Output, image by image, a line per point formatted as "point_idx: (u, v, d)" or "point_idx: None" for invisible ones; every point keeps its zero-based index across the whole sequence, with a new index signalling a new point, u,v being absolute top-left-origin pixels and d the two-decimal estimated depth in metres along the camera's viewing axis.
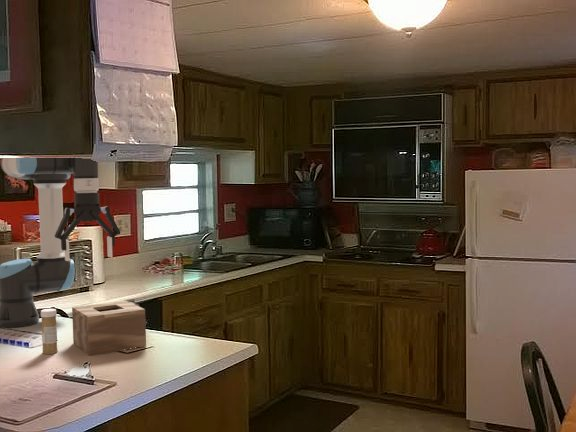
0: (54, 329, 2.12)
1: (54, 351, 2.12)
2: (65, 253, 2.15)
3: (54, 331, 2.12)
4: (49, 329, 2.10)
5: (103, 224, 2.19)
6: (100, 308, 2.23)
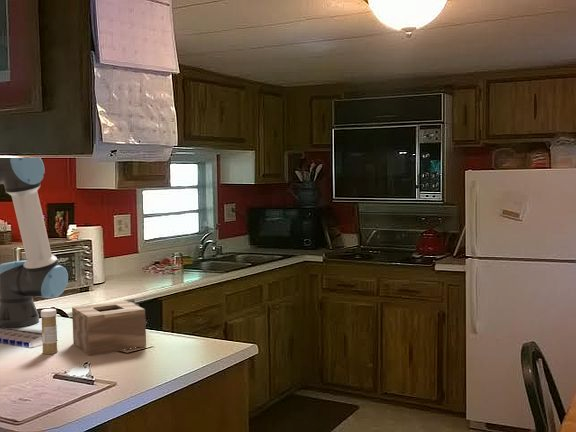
0: (54, 329, 2.12)
1: (54, 351, 2.12)
2: None
3: (54, 331, 2.12)
4: (49, 329, 2.10)
5: None
6: (100, 308, 2.23)
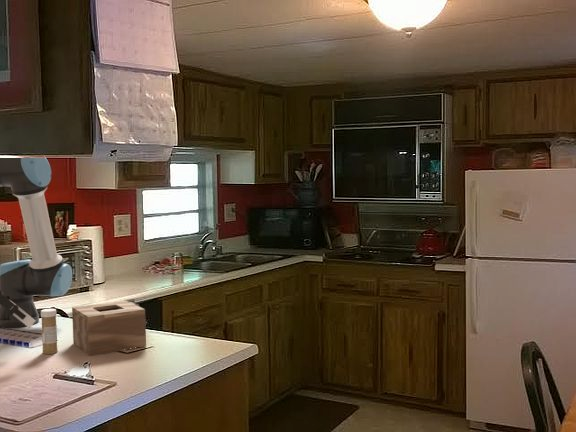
0: (54, 329, 2.12)
1: (54, 351, 2.12)
2: None
3: (54, 331, 2.12)
4: (49, 329, 2.10)
5: None
6: (100, 308, 2.23)
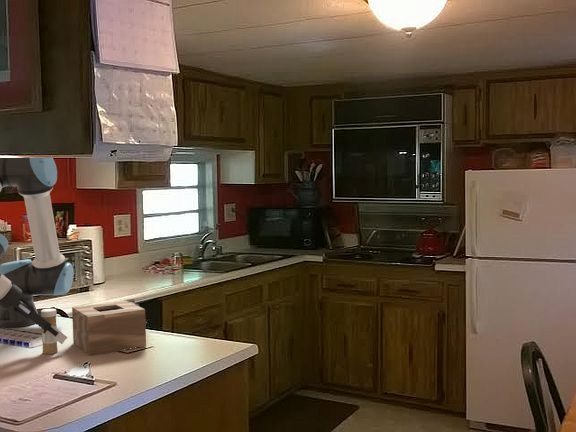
0: None
1: (54, 351, 2.12)
2: None
3: None
4: None
5: None
6: (100, 308, 2.23)
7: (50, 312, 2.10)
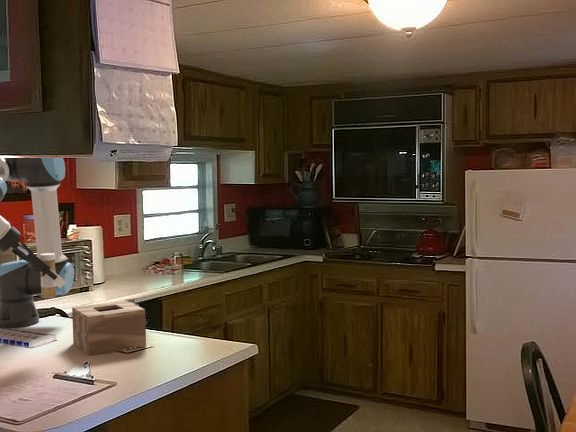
0: None
1: (53, 295, 2.10)
2: None
3: None
4: None
5: (31, 263, 2.06)
6: (100, 308, 2.23)
7: (49, 256, 2.09)
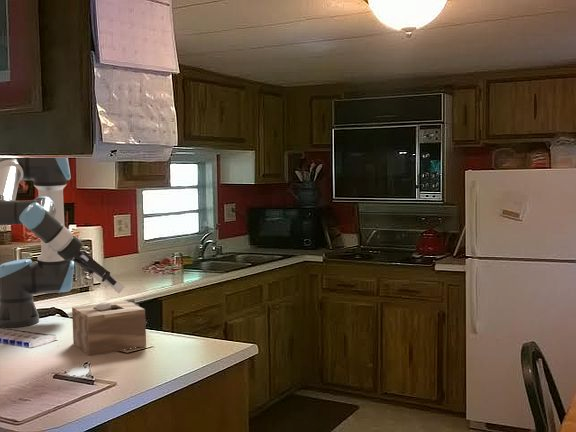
0: None
1: None
2: None
3: None
4: None
5: (91, 270, 2.12)
6: None
7: (106, 304, 2.19)
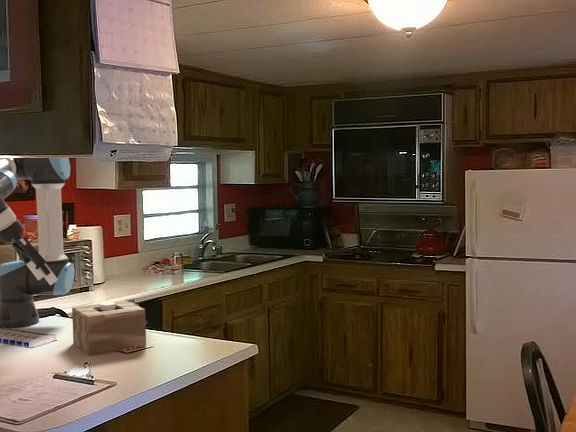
0: None
1: None
2: (38, 271, 2.20)
3: None
4: None
5: (27, 256, 2.06)
6: (100, 308, 2.23)
7: (111, 305, 2.19)
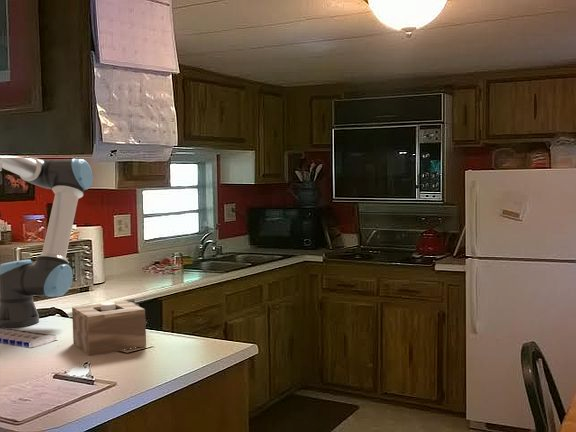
0: None
1: None
2: None
3: None
4: None
5: None
6: (100, 308, 2.23)
7: (111, 305, 2.19)
